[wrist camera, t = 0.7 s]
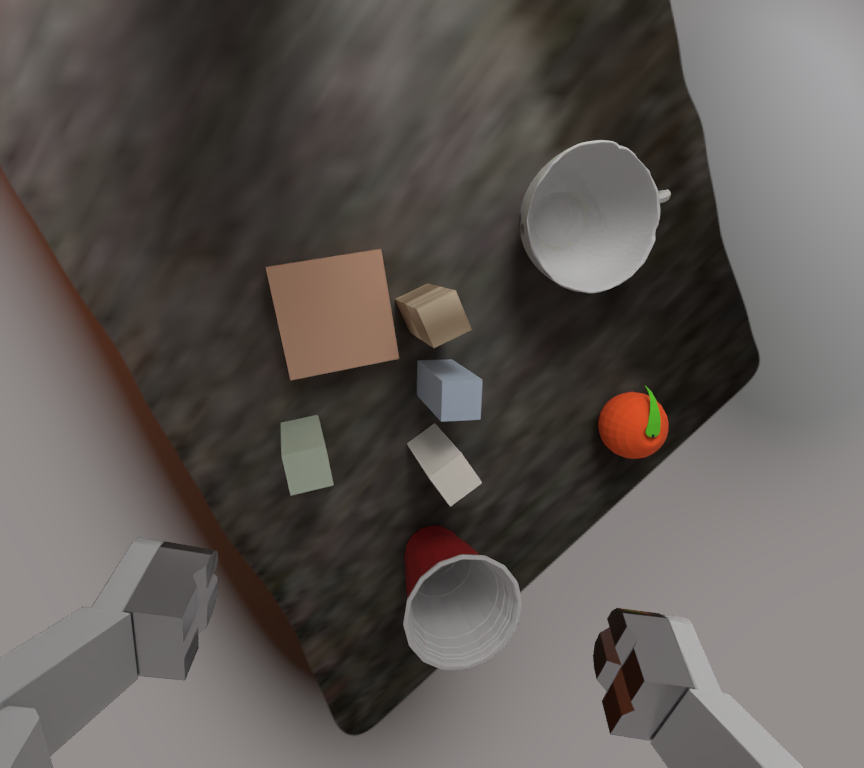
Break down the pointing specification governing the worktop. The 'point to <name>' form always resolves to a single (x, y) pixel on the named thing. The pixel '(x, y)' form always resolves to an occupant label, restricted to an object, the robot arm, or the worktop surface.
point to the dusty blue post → (449, 390)
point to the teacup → (591, 216)
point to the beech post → (433, 314)
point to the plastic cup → (456, 601)
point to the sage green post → (305, 455)
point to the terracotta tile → (333, 313)
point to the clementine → (633, 425)
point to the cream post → (444, 464)
